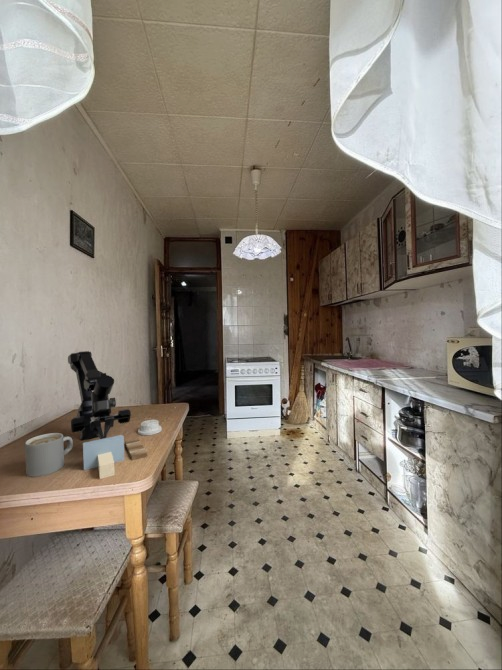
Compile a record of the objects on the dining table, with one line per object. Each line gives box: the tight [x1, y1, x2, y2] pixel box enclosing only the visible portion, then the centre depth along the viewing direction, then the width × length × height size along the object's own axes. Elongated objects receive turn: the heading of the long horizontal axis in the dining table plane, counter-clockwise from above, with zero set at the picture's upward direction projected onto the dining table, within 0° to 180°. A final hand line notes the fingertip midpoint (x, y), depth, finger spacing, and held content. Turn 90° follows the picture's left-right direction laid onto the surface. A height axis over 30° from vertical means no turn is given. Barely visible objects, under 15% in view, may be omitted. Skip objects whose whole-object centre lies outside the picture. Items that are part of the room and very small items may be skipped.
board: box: [124, 438, 148, 461], centre depth 101 cm, size 16×5×1 cm, turn 33°
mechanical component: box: [137, 419, 163, 436], centre depth 120 cm, size 10×4×10 cm
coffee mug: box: [24, 432, 74, 478], centre depth 90 cm, size 13×10×10 cm
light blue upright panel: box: [82, 434, 125, 480], centre depth 88 cm, size 12×12×8 cm
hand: (103, 441), depth 93 cm, fingers closed
